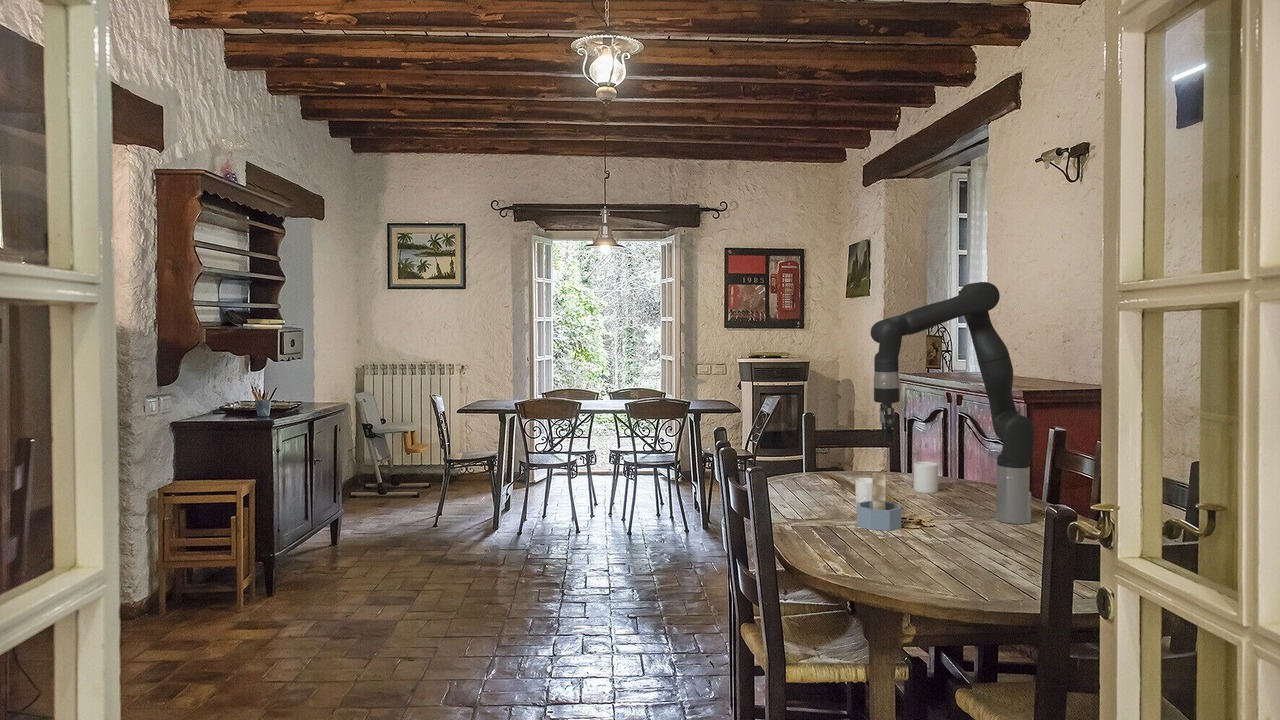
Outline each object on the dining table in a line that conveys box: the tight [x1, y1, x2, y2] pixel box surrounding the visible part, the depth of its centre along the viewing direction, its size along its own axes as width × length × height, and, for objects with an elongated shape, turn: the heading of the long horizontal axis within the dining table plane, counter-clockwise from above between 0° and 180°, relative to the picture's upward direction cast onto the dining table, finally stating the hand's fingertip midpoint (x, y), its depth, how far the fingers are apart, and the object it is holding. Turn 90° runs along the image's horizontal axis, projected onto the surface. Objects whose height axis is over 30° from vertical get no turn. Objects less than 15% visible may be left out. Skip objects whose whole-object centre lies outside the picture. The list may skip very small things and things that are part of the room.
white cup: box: [854, 477, 872, 505], centre depth 262 cm, size 8×8×10 cm
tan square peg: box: [871, 472, 887, 510], centre depth 242 cm, size 4×4×15 cm
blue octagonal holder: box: [856, 500, 902, 532], centre depth 243 cm, size 13×13×6 cm
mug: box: [913, 461, 939, 495], centre depth 291 cm, size 12×8×10 cm
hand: (887, 439), depth 243 cm, fingers open, 8 cm apart
